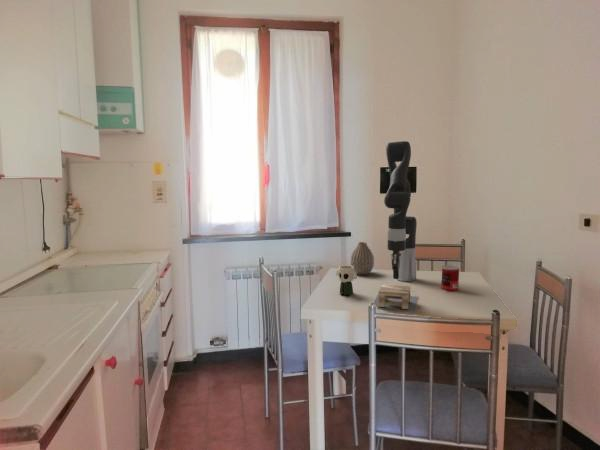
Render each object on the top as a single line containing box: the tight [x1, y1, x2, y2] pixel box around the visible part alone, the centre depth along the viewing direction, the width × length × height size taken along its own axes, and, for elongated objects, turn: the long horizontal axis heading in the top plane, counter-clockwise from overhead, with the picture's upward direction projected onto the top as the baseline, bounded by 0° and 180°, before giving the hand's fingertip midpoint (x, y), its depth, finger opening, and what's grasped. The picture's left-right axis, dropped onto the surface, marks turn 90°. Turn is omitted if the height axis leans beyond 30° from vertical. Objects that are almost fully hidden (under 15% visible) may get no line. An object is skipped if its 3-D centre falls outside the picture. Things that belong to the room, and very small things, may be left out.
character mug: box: [335, 264, 358, 296], centre depth 206 cm, size 11×7×13 cm, turn 52°
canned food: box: [441, 264, 460, 292], centre depth 213 cm, size 8×8×11 cm
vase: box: [349, 241, 375, 276], centre depth 246 cm, size 13×13×18 cm
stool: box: [378, 283, 411, 310], centre depth 188 cm, size 7×12×12 cm
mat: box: [373, 293, 419, 313], centre depth 192 cm, size 23×18×1 cm
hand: (395, 278), depth 191 cm, fingers closed
